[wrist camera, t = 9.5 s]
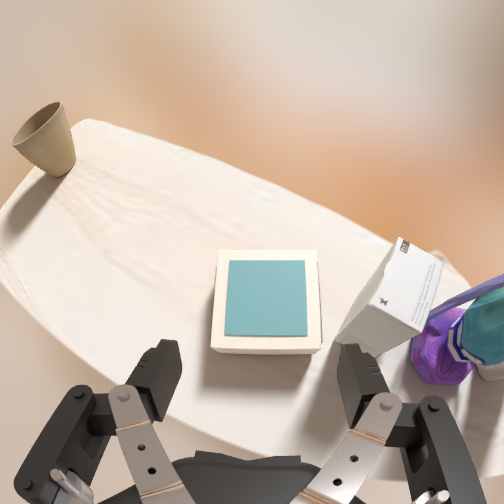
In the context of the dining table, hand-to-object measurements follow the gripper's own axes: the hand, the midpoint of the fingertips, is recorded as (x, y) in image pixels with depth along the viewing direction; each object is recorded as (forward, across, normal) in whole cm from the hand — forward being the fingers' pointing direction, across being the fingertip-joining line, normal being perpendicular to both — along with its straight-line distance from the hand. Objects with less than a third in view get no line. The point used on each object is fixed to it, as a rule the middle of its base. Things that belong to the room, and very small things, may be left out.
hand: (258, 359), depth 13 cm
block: (+15, 0, +12) cm, 19 cm away
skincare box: (+20, -13, +11) cm, 27 cm away
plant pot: (+45, +50, -14) cm, 69 cm away
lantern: (+17, -25, +14) cm, 34 cm away
